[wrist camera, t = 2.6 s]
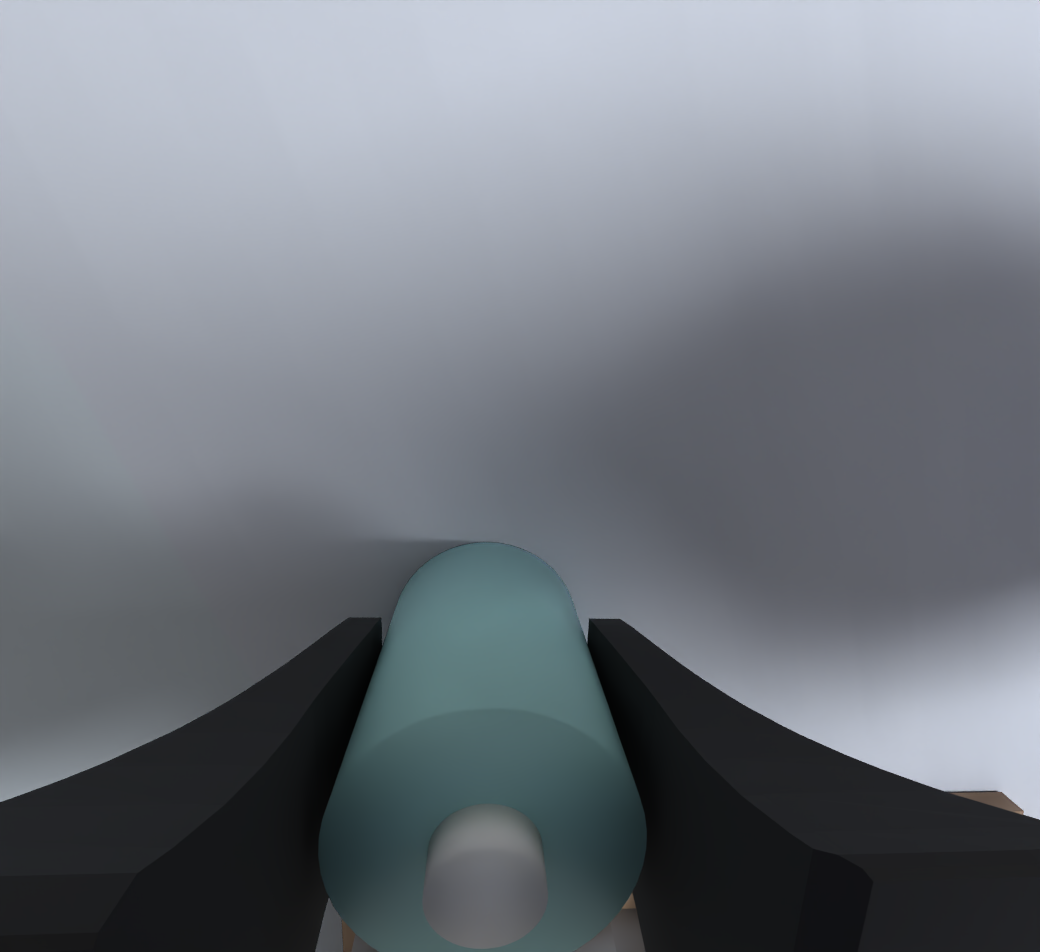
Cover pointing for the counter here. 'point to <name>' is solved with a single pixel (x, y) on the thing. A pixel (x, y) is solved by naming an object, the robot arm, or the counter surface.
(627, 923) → the wooden battery tray
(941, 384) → the counter surface
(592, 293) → the counter surface
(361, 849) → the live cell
